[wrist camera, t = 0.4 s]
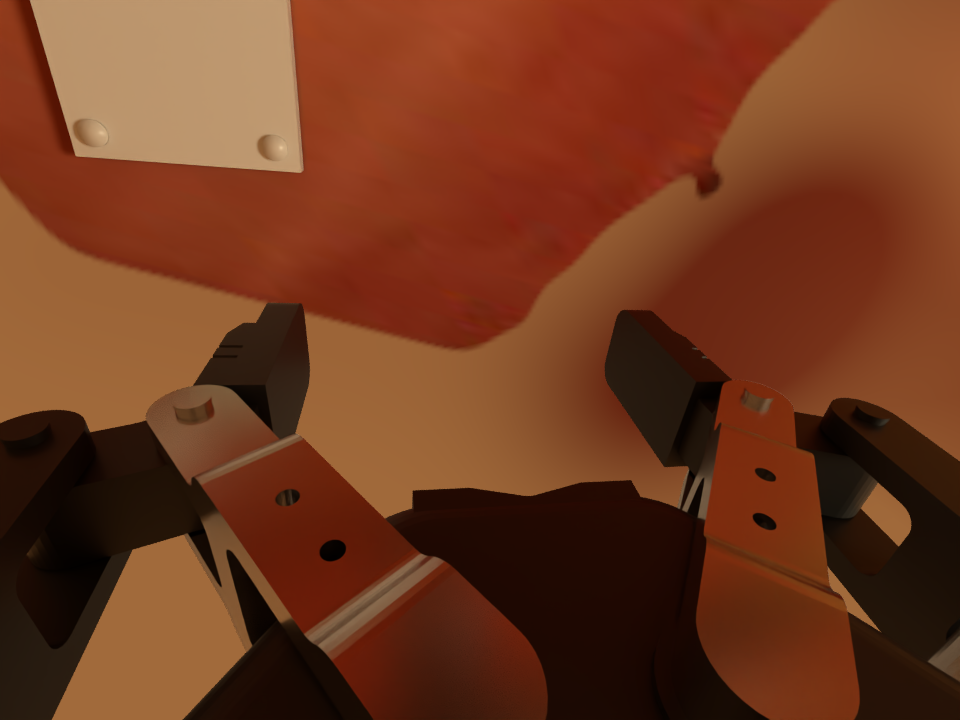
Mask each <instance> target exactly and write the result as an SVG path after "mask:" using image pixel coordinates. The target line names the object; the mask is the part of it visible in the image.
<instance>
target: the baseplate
mask: <svg viewBox="0 0 960 720" xmlns="http://www.w3.org/2000/svg"><path fill="white" fill-rule="evenodd" d="M30 2H31V5H32V9H33V12H34V16H35V19H36V22H37V26H38V29H39V33H40V36H41V39H42V43H43V46H44V50H45V53H46V56H47V60H48V63H49V67H50V70H51V73H52V77H53V80H54V84H55V87H56V90H57V94H58V97H59V101H60V104H61V107H62V111H63V114H64V118H65V121H66V124H67V128H68V131H69V135H70V138H71V141H72V145H73V148H74V152H75V155H76V156H81V157H94V158H108V159H121V160H135V161H149V162H162V163H176V164H189V165H203V166H216V167H230V168H244V169H257V170H271V171H284V172H298V173H301V172H302V171H303V170H304V169H303V156H302V144H301V131H300V119H299V106H298V94H297V81H296V69H295V56H294V44H293V31H292V19H291V6H290V0H30Z"/></svg>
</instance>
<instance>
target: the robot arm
mask: <svg viewBox="0 0 960 720" xmlns="http://www.w3.org/2000/svg"><path fill="white" fill-rule="evenodd" d="M309 365H310V363H309V353H308V344H307V335H306V325H305V316H304V309H303V306H302V304H300V303H267V304H266V306H265V308H264V310H263V312H262V313H261V315H260V317H259V319H258V320H257V322H256V323H243V324H241V325H239V326H238V327H236V328H235V329H233V330H231V331H230V332H228V333H227V334H226V336H225V337H224V339H223V340H222V342H221V343H220V345H219V348H217V350H216V351H215V353H214V354H213V358H211V359H210V360H209V362H208V363H207V365H206V366H205V368H204V370H203V371H202V373H201V374H200V376H199V377H198V379H197V380H196V382H195V383H194V385H193V386H191V387H186V388H182V389H179V390H176V391H173V392H171V393H169V394H167V395H165V396H163V397H161V398H160V399H158V400H157V401H155V402H154V403H153V404H152V405H151V406H150V408H149V409H148V411H147V413H146V421H143V422H139V423H135V424H131V425H125V426H120V427H115V428H110V429H105V430H100V431H95V432H90V431H89V429H88V426H87V424H86V422H85V420H84V418H83V417H82V416H81V415H79V414H77V413H75V412H71V411H65V410H49V411H40V412H34V413H30V414H26V415H22V416H19V417H16V418H13V419H10V420H7V421H4V422H2V423H0V720H52V718H53V716H54V714H55V711H56V709H57V707H58V705H59V703H60V701H61V699H62V697H63V695H64V693H65V691H66V688H67V686H68V684H69V682H70V680H71V678H72V676H73V673H74V672H75V670H76V667H77V665H78V663H79V661H80V659H81V657H82V655H83V653H84V650H85V648H86V646H87V644H88V642H89V640H90V638H91V636H92V634H93V632H94V630H95V628H96V625H97V623H98V621H99V619H100V617H101V615H102V613H103V611H104V609H105V606H106V604H107V602H108V600H109V598H110V596H111V594H112V592H113V590H114V588H115V585H116V583H117V581H118V579H119V577H120V575H121V573H122V571H123V569H124V567H125V564H126V562H127V560H128V558H129V556H130V554H131V552H132V550H133V549H136V548H140V547H143V546H146V545H150V544H153V543H157V542H160V541H163V540H166V539H170V538H174V537H177V536H180V535H184V536H185V538H186V540H187V542H188V543H189V545H190V547H191V548H192V550H193V552H194V553H195V555H196V557H197V559H198V560H199V562H200V564H201V565H202V567H203V569H204V571H205V572H206V574H207V576H208V577H209V579H210V581H211V582H212V584H213V586H214V587H215V589H216V591H217V593H218V594H219V596H220V598H221V599H222V601H223V603H224V605H225V607H226V609H227V611H228V613H229V615H230V617H231V620H232V622H233V625H234V627H235V629H236V632H237V634H238V636H239V638H240V640H241V642H242V644H243V646H244V648H245V650H246V653H245V654H244V656H243V657H241V659H240V660H239V661H238V662H237V663H236V664H235V665H234V666H233V667H232V668H231V669H230V670H229V671H228V672H227V674H226V675H225V676H224V677H223V678H222V679H221V680H220V681H219V682H218V683H217V684H216V685H215V686H214V687H213V688H212V689H211V690H210V691H209V692H208V694H207V695H206V696H205V697H204V698H203V699H202V700H201V701H200V702H199V703H198V704H197V705H196V706H195V707H194V708H193V709H192V710H191V712H190V713H189V714H188V715H187V716H186V717H185V718H184V719H183V720H960V461H958V460H957V459H956V458H954V457H953V456H951V455H950V454H949V453H947V452H946V451H945V450H943V449H942V448H940V447H939V446H937V445H936V444H935V443H934V442H932V441H931V440H929V439H928V438H927V437H925V436H924V435H922V434H921V433H920V432H918V431H917V430H916V429H914V428H913V427H911V426H910V425H909V424H907V423H906V422H905V421H903V420H902V419H900V418H899V417H898V416H896V415H895V414H893V413H891V412H889V411H887V410H885V409H883V408H881V407H879V406H876V405H874V404H871V403H868V402H865V401H861V400H857V399H851V398H838V399H835V400H833V401H832V402H831V404H830V405H829V407H828V409H827V411H826V413H825V414H824V416H823V417H821V416H816V415H810V414H804V413H798V412H794V408H793V405H792V404H791V402H790V401H789V400H788V399H787V398H786V397H785V396H783V395H782V394H780V393H779V392H777V391H775V390H774V389H771V388H769V387H767V386H765V385H762V384H759V383H755V382H751V381H746V380H732V379H731V378H730V377H728V376H727V375H726V374H725V373H724V372H723V371H722V370H721V369H720V368H719V367H717V366H716V365H715V364H714V363H713V362H712V361H711V360H710V359H707V358H706V356H705V355H704V354H703V353H702V352H701V351H700V350H697V347H696V346H695V345H693V344H692V343H691V342H690V341H689V340H688V339H687V338H686V337H684V336H682V335H680V334H678V333H676V332H674V331H673V330H672V329H671V328H669V327H668V326H667V325H666V324H665V323H664V322H663V321H662V320H661V319H660V318H659V317H658V316H656V314H654V313H653V312H652V311H647V310H644V311H643V310H622V311H621V312H620V313H619V314H618V316H617V319H616V322H615V326H614V330H613V334H612V338H611V342H610V346H609V350H608V353H607V358H606V362H605V377H606V381H607V383H608V385H609V387H610V388H611V389H612V391H613V392H614V394H615V395H616V397H617V398H618V399H619V401H620V402H621V404H622V406H623V407H624V409H625V410H626V411H627V413H628V414H629V416H630V417H631V419H632V420H633V422H634V423H635V424H636V426H637V428H638V429H639V430H640V432H641V433H642V435H643V436H644V438H645V439H646V441H647V442H648V444H649V445H650V446H651V448H652V449H653V451H654V453H655V454H656V455H657V457H658V458H659V460H660V461H661V463H662V464H663V466H664V467H674V466H688V467H689V469H688V472H687V474H686V476H685V479H684V482H683V486H682V490H681V494H680V498H679V503H678V507H677V508H676V507H674V506H671V505H669V504H666V503H663V502H660V501H656V500H652V499H648V498H643V497H640V495H639V493H638V492H637V490H636V488H635V486H634V485H633V483H632V481H631V480H626V481H605V482H584V483H578V484H574V485H570V486H567V487H563V488H560V489H556V490H552V491H549V492H545V493H542V494H538V495H534V496H521V495H514V494H508V493H500V492H494V491H487V490H480V489H474V488H460V489H459V488H458V489H437V490H416V491H413V500H412V501H413V502H412V509H409V510H406V511H402V512H400V513H397V514H394V515H392V516H389V517H387V518H384V517H383V516H382V515H381V514H380V513H378V511H376V510H375V509H374V508H373V507H372V506H371V505H370V504H369V503H368V502H367V501H366V500H365V499H364V498H363V497H362V496H361V495H360V494H359V493H358V492H357V491H356V490H355V489H354V488H353V487H352V486H351V485H350V484H349V483H348V482H347V481H346V480H345V479H344V478H343V477H342V476H341V475H340V474H339V473H338V472H337V471H336V470H335V469H334V468H333V467H332V466H331V465H330V464H329V463H328V462H327V461H326V460H325V459H324V458H323V457H322V456H321V455H320V454H319V453H318V452H317V451H316V450H315V449H314V448H313V447H312V446H311V445H310V444H309V443H308V442H306V440H305V439H304V438H302V437H301V436H300V435H298V434H296V433H295V432H296V429H297V425H298V421H299V418H300V414H301V411H302V407H303V404H304V400H305V396H306V393H307V389H308V385H309V377H310V366H309ZM877 483H879V484H880V485H882V486H883V487H884V488H885V489H886V490H887V491H888V492H889V493H890V494H891V495H893V496H894V497H895V498H896V499H897V500H898V501H899V502H900V503H901V504H902V505H903V506H904V507H905V508H906V509H907V511H908V513H909V515H910V518H911V525H912V526H911V531H910V533H909V535H908V536H907V537H906V538H905V540H904V541H903V542H902V544H901V545H900V546H899V547H898V546H897V545H896V544H895V543H894V542H893V541H892V539H890V537H889V536H888V535H887V534H886V533H884V532H883V531H882V530H881V529H880V527H879V526H878V525H876V523H875V522H874V521H872V519H871V518H870V517H869V516H868V515H867V514H865V512H864V511H863V510H862V509H861V507H862V505H863V504H864V502H865V501H866V500H867V498H868V497H869V495H870V494H871V492H872V491H873V489H874V488H875V486H876V485H877ZM827 566H828V567H829V568H830V570H831V571H832V572H833V573H834V574H835V576H836V577H837V578H838V579H839V581H840V582H841V583H842V584H843V586H844V587H845V588H846V589H847V591H848V592H849V593H850V594H851V595H852V597H853V598H854V599H855V600H856V602H857V603H858V604H859V605H860V607H861V608H862V609H863V610H864V612H865V613H866V614H867V615H868V616H869V618H870V619H871V620H872V621H873V623H874V624H875V625H876V626H877V628H878V629H879V630H880V631H881V632H880V631H878V630H876V629H875V628H873V627H872V626H870V625H868V624H867V623H865V622H864V621H862V620H860V619H859V618H857V617H856V616H854V615H852V614H851V613H849V612H848V611H847V607H846V604H845V601H844V599H843V598H842V596H841V595H840V594H838V593H836V592H834V591H833V590H832V589H831V586H830V583H829V576H828V567H827Z"/></svg>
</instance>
